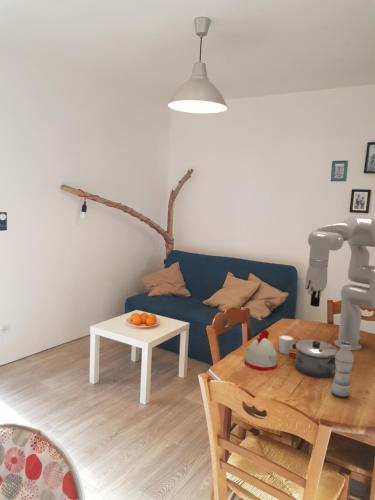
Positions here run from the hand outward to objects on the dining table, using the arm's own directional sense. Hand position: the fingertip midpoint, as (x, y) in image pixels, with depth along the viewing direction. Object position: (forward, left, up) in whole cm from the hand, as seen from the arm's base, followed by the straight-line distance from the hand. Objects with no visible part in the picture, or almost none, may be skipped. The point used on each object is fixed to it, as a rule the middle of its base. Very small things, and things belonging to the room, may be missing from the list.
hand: (314, 305), depth 161 cm
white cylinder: (-8, -17, -28) cm, 34 cm away
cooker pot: (-2, +4, -28) cm, 28 cm away
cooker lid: (-1, +2, -19) cm, 19 cm away
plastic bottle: (+10, +20, -28) cm, 36 cm away
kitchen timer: (+13, -15, -28) cm, 35 cm away
